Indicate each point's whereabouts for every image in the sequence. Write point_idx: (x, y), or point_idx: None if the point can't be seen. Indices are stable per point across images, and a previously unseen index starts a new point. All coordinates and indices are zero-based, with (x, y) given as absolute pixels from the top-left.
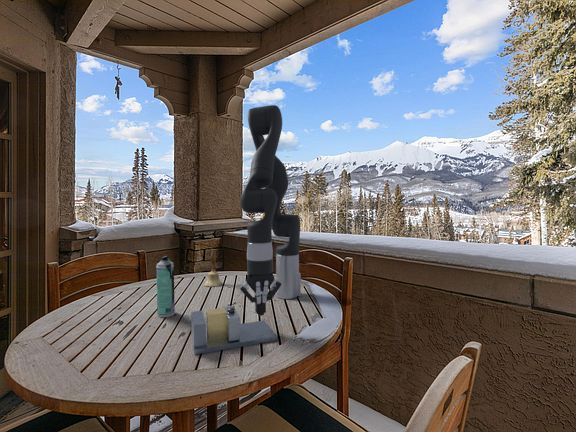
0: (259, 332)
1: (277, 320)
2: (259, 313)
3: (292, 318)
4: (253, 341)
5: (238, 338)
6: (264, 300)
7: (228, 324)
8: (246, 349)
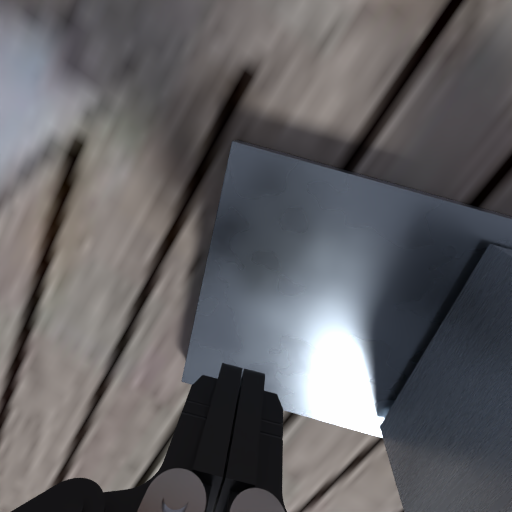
0: (300, 266)
1: (102, 359)
2: (262, 387)
3: (14, 332)
4: (404, 189)
5: (509, 250)
6: (175, 509)
7: None
8: (482, 151)
